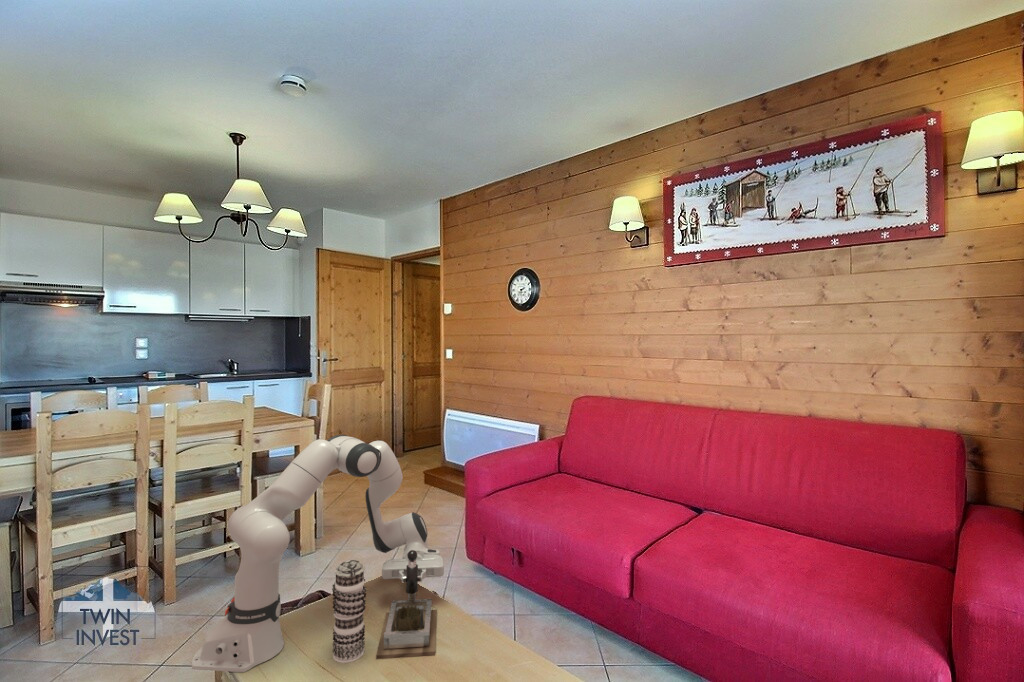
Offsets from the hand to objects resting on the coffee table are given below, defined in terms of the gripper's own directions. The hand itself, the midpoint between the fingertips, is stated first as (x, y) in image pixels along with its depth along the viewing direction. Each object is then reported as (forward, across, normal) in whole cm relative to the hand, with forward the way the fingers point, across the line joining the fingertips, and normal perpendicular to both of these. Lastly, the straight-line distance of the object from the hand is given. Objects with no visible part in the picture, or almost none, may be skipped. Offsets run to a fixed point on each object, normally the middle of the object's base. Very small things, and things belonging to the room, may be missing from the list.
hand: (411, 579), depth 156 cm
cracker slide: (+8, 0, +10) cm, 13 cm away
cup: (+12, 0, +12) cm, 17 cm away
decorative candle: (+17, -16, +12) cm, 26 cm away
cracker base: (+10, 0, +12) cm, 15 cm away
